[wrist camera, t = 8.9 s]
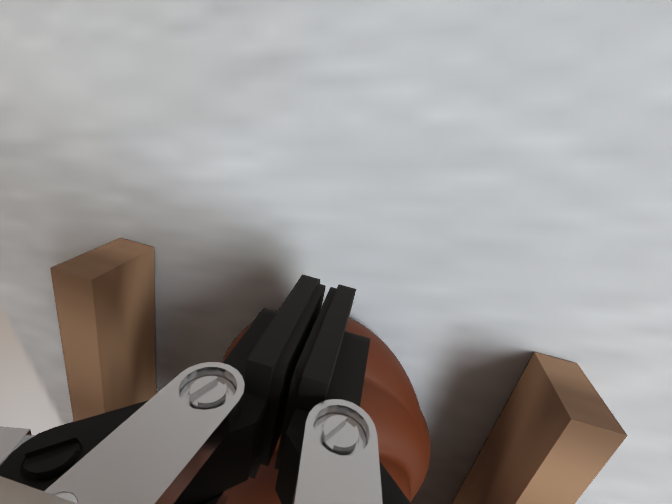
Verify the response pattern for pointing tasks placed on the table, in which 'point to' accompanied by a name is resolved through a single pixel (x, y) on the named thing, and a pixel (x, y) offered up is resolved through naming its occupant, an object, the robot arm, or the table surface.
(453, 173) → the table surface
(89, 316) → the cubby
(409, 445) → the poop emoji
